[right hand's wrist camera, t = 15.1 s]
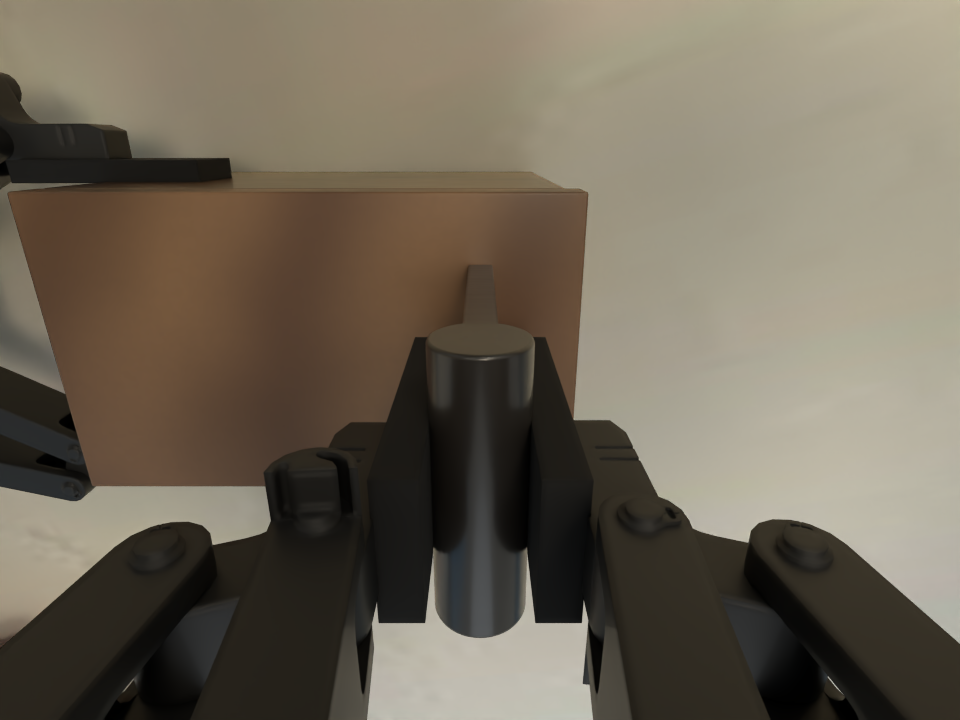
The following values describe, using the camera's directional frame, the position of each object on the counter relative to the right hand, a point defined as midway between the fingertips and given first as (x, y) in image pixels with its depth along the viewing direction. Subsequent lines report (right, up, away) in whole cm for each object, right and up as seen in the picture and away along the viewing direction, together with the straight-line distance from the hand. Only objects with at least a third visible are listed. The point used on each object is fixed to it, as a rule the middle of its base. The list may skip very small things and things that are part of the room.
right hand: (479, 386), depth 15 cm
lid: (-5, +1, +4) cm, 6 cm away
